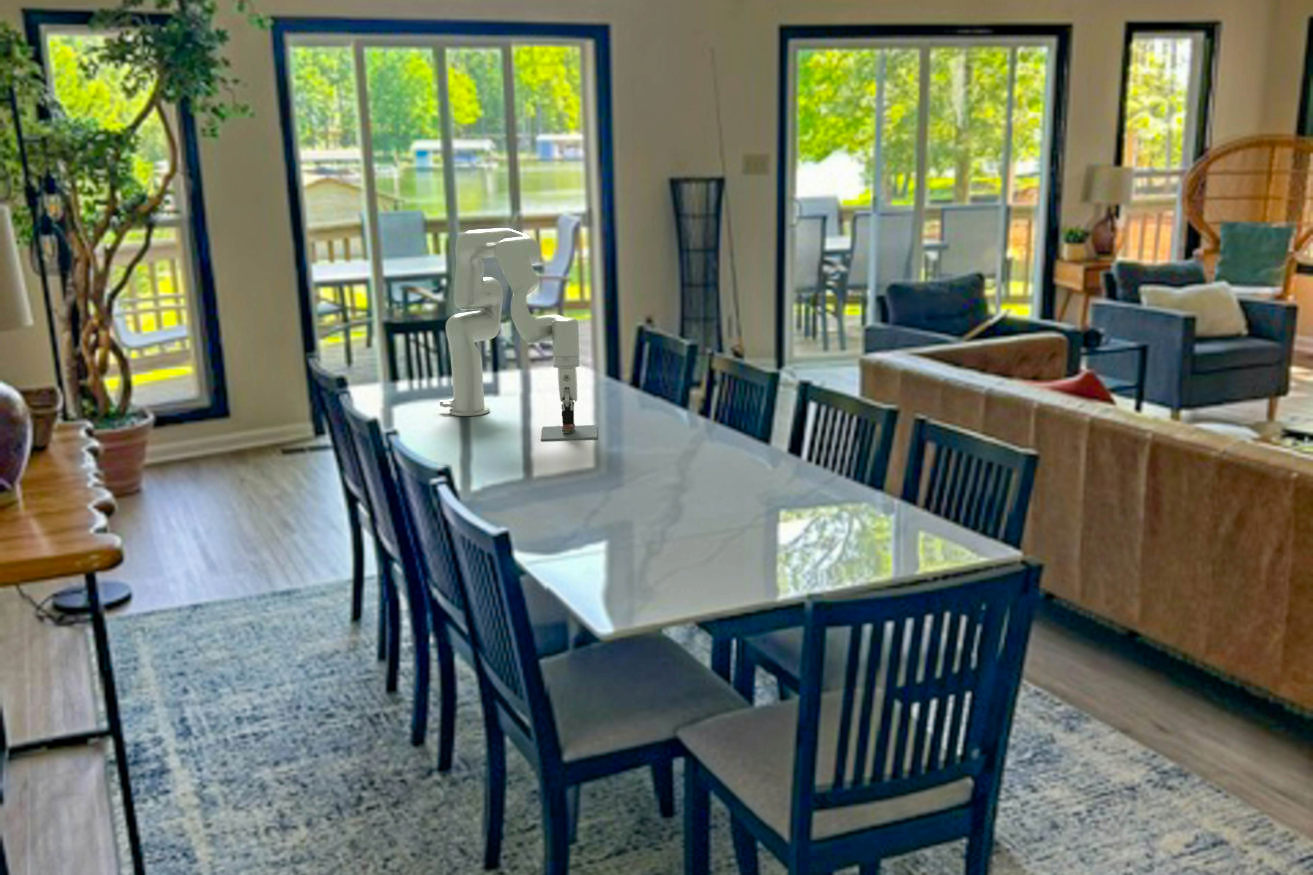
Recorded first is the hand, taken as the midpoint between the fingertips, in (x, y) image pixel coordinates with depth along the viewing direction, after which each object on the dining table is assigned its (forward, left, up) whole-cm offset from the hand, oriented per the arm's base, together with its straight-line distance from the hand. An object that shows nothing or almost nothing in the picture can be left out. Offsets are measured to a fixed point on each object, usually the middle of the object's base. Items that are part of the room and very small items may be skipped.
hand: (568, 420), depth 328 cm
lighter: (0, 0, -3) cm, 3 cm away
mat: (0, 0, -4) cm, 4 cm away
